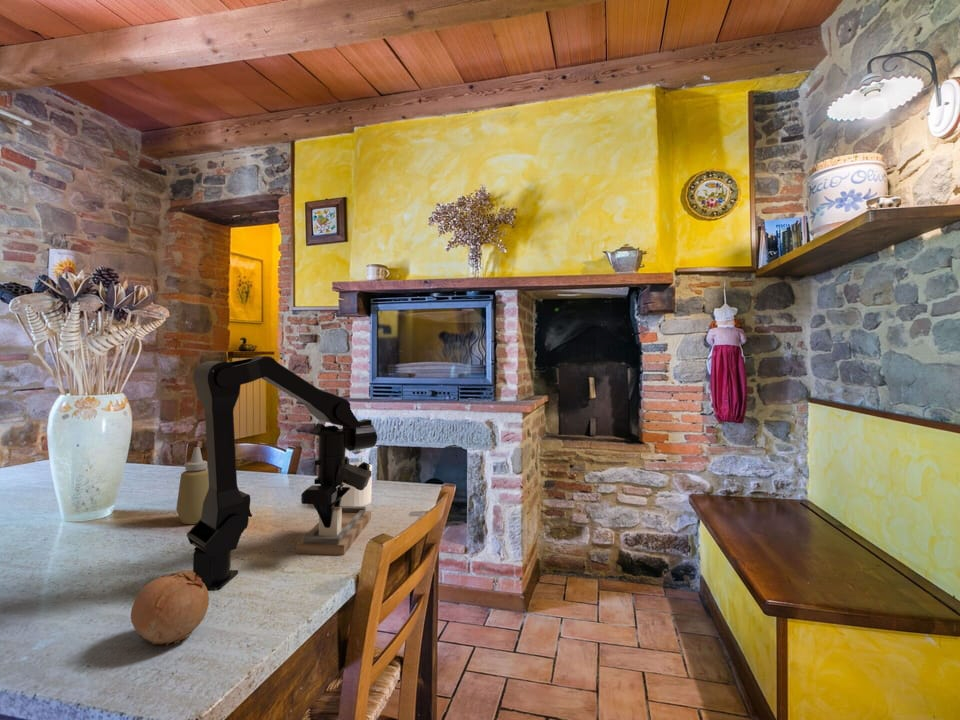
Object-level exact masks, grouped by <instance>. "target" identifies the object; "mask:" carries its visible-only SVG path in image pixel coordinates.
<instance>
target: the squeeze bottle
mask: <svg viewBox="0 0 960 720" xmlns="http://www.w3.org/2000/svg"><path fill="white" fill-rule="evenodd" d="M190 459H191V460H190V461H187V462H186V463H185V467H184V468H185V471H182V473H181V474H180V478H179V479H180V480H179V487H178V494H177V502H176V507H175V509H176V512H177V515H178V517H179V519H180V522H181V523H182V524H184V525H195V524H196V523H197V522H198V521H199V520H200V519H201V516H202V509H203V502H204V499H205V497H206V494H207V492H208V489H209V477H208V460H203V455H202V451H201V447H200V446H197V447H195V446H194V447H193V451H192V455H191V458H190Z"/></svg>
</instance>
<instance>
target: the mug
mask: <svg viewBox="0 0 960 720" xmlns="http://www.w3.org/2000/svg"><path fill="white" fill-rule="evenodd" d="M361 463H362V462H349V464H351V465H357V467H358V466H359V465H360V464H361ZM368 464H369V468H370V471H372V472H371V473H372V474H371V477H370V479H369V481H368V484H367V486H366V487H365V488H364V489H363V490H358V489H356V488H355V487H353V486H350V485H348V484H345V483H343V484H345V485H344V487H350V490H349V491H348V492H347V493H345V494H344V495H343V497H342V500H341V503H340V506H357V507H367V506H369V505H370V504H371V503H372V493H373V492H372V491H373V490H372V489H373V486H372V485H373V483H372V482H373V465H372V464H370V463H368Z"/></svg>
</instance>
